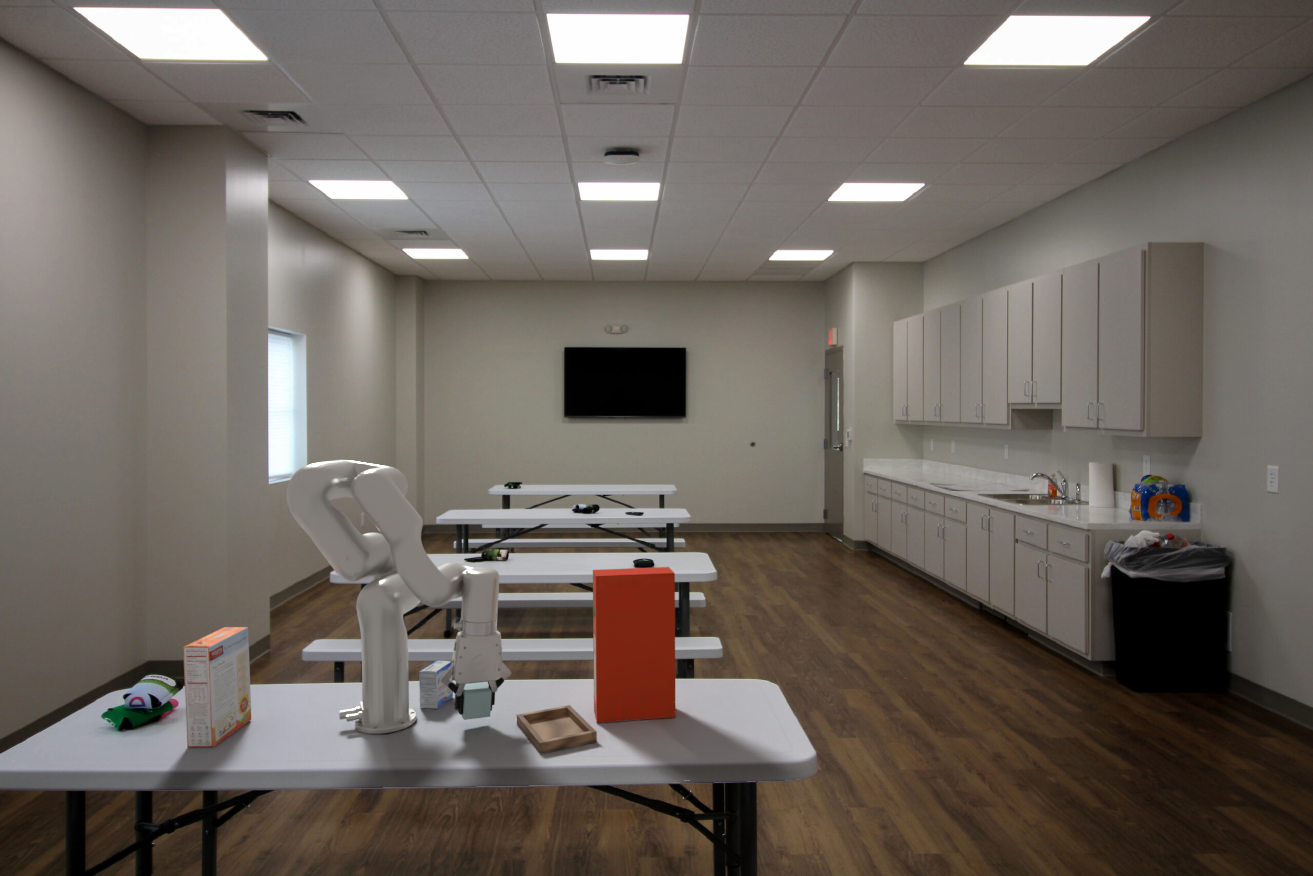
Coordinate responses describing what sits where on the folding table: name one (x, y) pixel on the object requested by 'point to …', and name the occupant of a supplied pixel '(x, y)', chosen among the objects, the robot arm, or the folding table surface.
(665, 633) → the tall orange-red block
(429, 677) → the medicine box
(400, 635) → the robot arm
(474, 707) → the teal cube
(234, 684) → the cracker box
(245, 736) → the folding table surface
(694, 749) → the folding table surface
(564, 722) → the walnut tray
